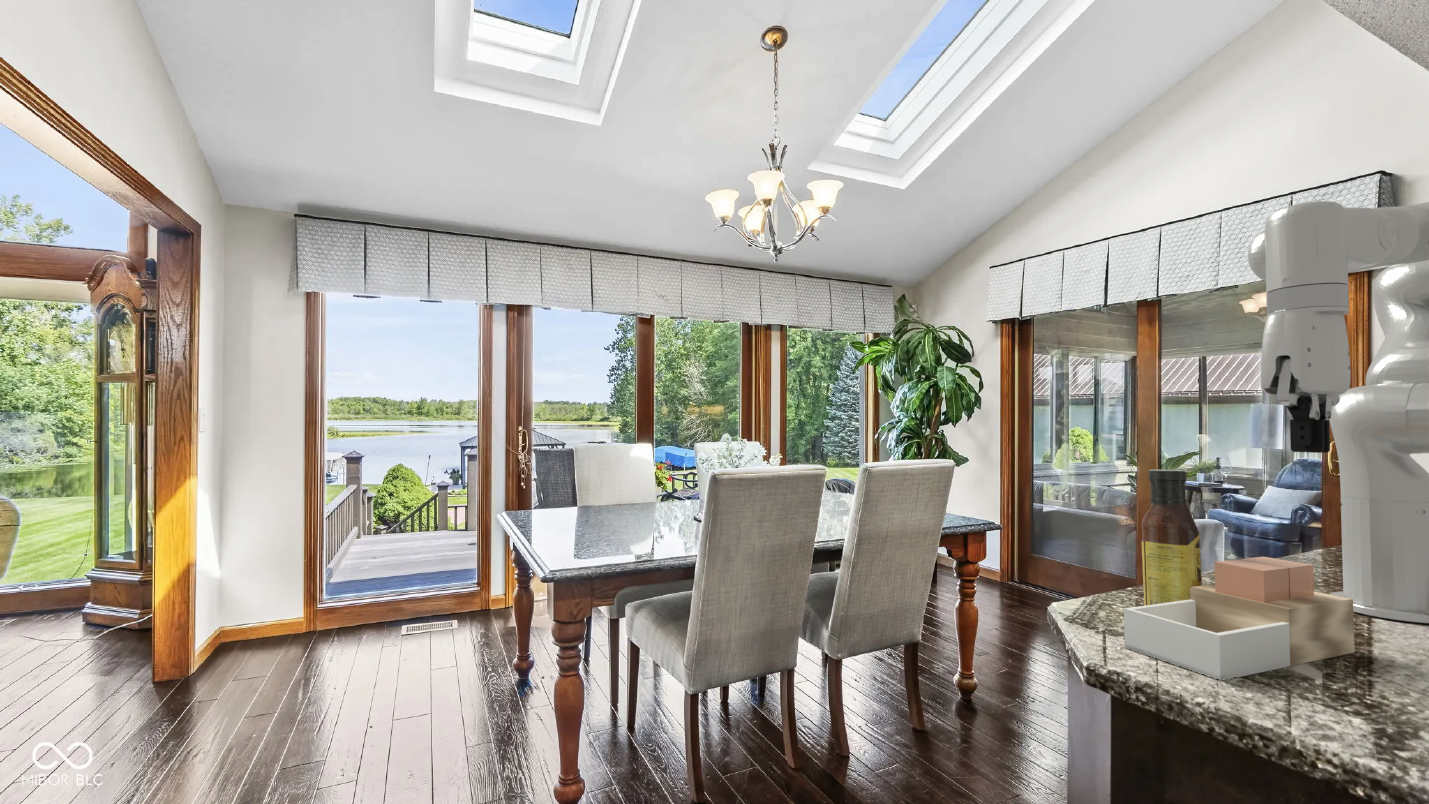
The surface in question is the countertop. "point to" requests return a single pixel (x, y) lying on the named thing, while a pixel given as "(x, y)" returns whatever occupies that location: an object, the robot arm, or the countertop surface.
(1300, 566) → the block
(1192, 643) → the box
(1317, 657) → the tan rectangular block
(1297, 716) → the countertop surface
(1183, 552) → the sauce bottle
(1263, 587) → the block
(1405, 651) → the countertop surface
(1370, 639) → the countertop surface
